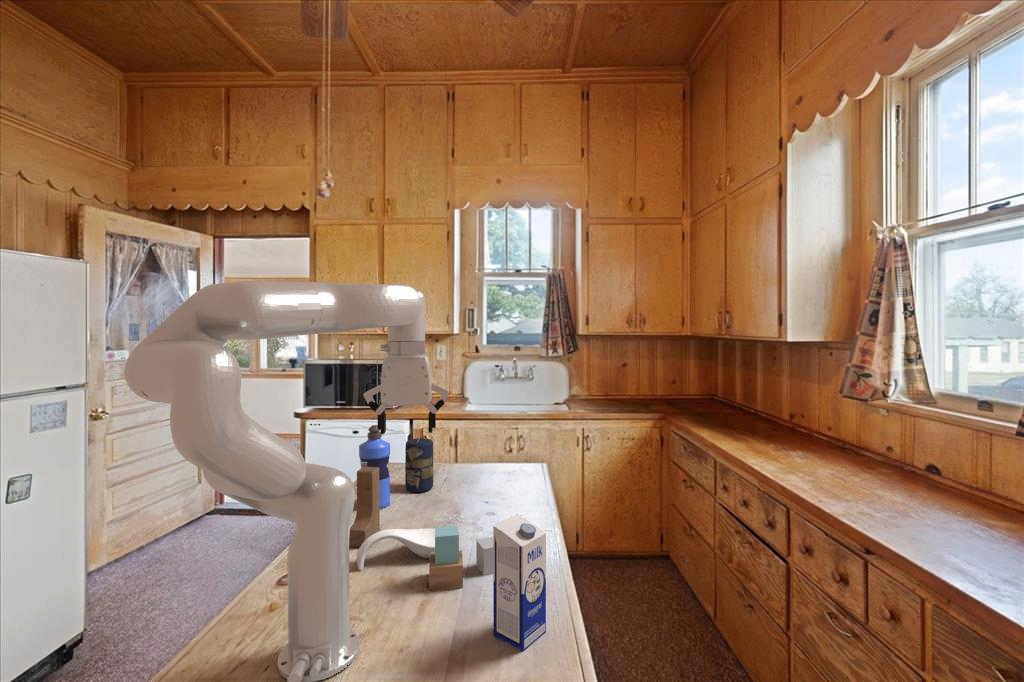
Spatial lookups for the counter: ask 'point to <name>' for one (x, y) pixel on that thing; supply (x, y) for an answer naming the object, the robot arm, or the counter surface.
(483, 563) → the grey block
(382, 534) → the spoon rest
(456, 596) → the counter surface
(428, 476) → the canister
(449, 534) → the teal block
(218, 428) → the robot arm
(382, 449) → the water bottle
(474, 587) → the counter surface
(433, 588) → the walnut block
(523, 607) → the milk carton
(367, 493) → the wooden block
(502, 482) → the counter surface
